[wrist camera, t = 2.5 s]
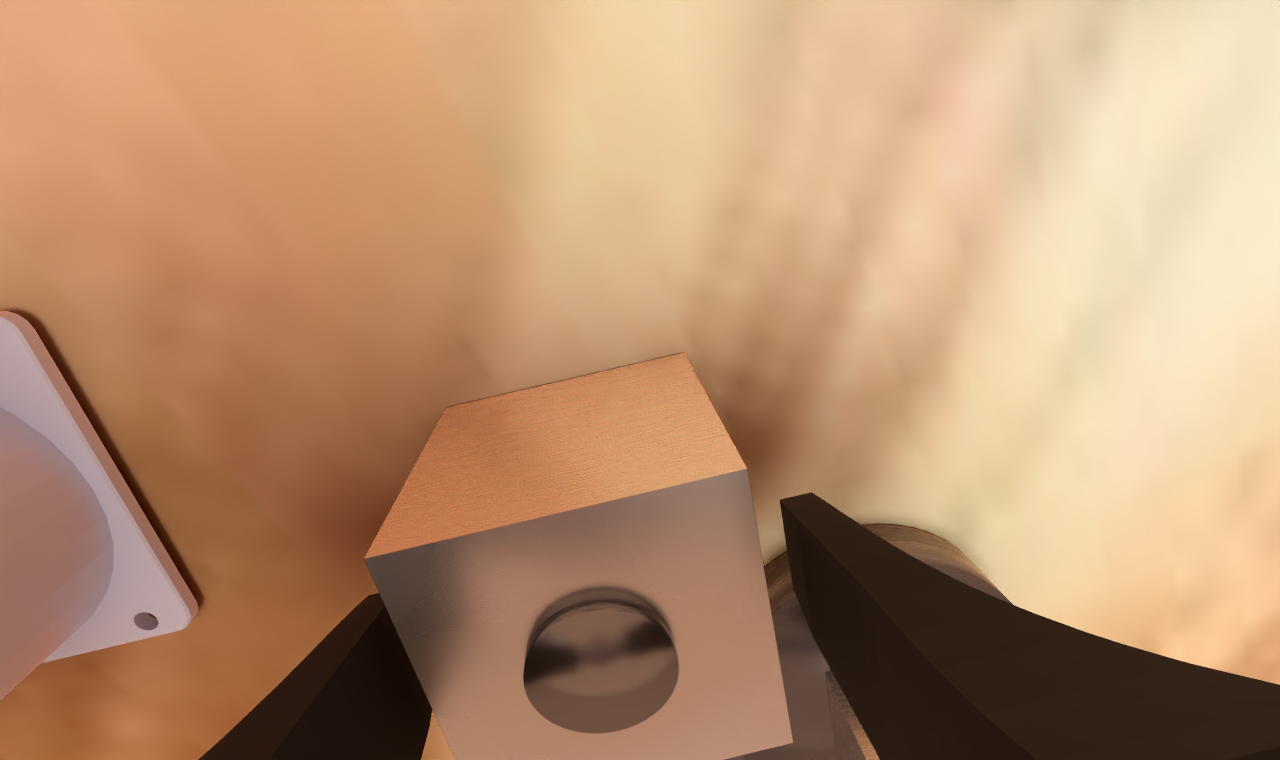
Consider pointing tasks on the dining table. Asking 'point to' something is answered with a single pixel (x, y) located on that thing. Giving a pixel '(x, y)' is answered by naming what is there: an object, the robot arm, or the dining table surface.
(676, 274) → the dining table surface
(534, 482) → the tan square block
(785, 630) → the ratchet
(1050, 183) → the dining table surface
